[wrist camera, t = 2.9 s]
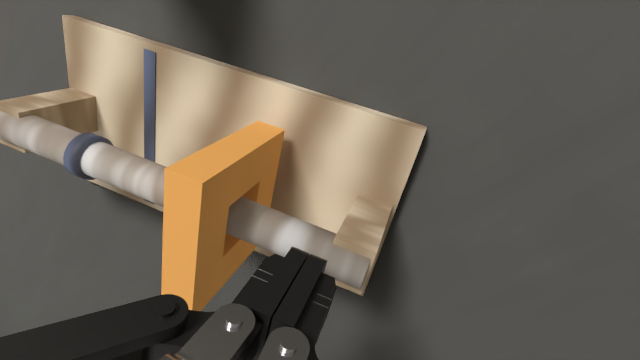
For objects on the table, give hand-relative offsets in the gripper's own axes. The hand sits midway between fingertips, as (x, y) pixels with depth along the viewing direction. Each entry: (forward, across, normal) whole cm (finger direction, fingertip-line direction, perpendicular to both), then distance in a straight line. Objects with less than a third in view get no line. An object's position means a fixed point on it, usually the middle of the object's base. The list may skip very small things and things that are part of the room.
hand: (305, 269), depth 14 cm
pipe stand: (+12, +11, +3) cm, 17 cm away
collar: (+10, +6, +3) cm, 13 cm away
